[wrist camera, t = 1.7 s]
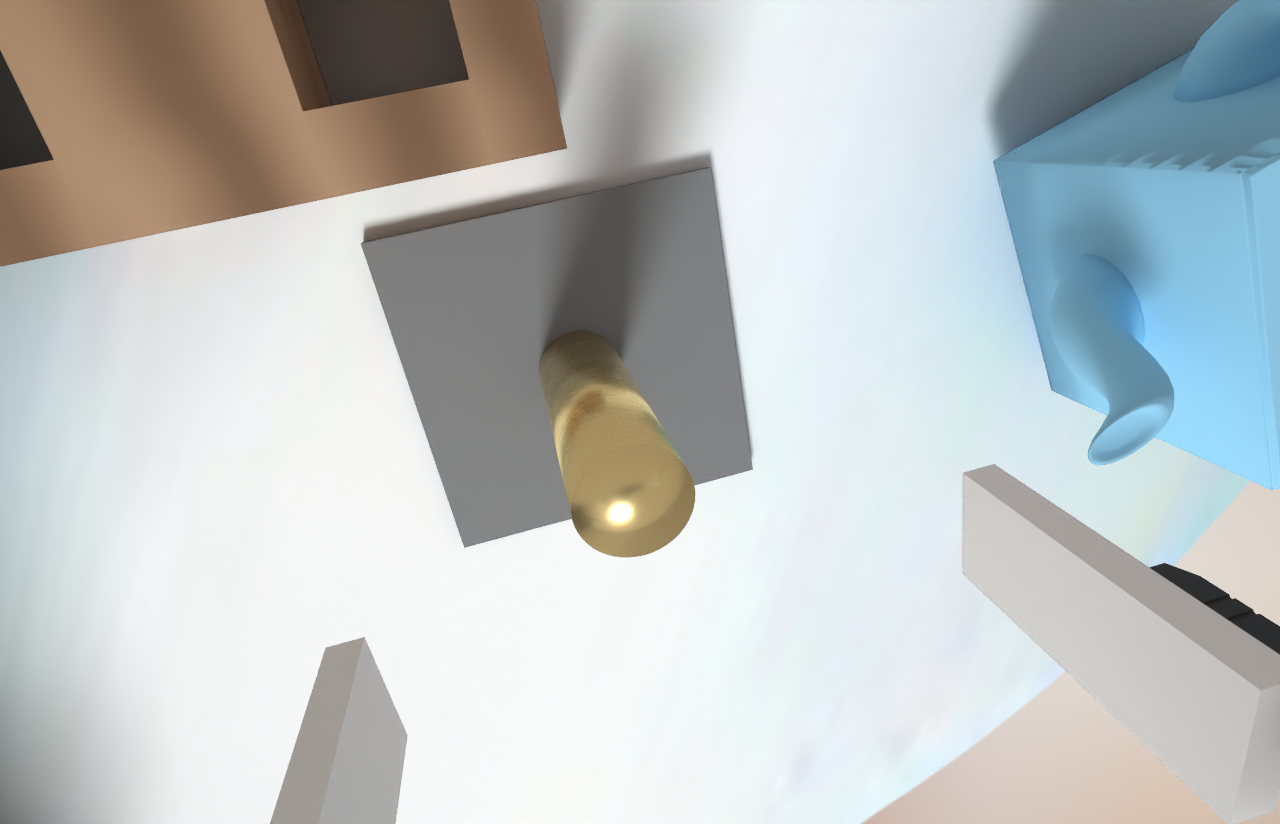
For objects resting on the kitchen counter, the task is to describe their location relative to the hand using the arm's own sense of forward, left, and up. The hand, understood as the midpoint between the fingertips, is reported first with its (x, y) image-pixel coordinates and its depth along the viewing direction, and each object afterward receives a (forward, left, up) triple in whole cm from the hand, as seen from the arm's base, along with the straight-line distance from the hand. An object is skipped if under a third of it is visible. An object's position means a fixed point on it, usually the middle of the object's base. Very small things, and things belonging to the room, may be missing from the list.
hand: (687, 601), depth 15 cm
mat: (0, 0, -17) cm, 17 cm away
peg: (0, 0, -17) cm, 17 cm away
